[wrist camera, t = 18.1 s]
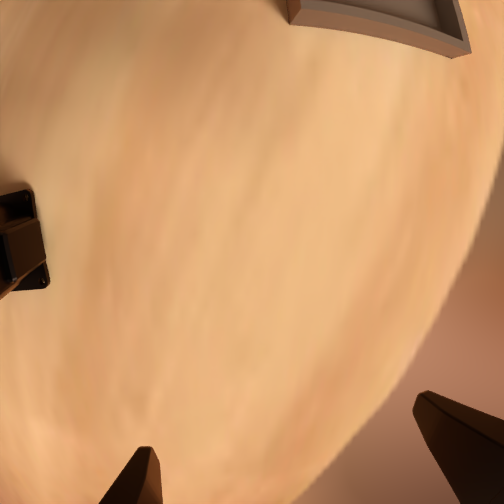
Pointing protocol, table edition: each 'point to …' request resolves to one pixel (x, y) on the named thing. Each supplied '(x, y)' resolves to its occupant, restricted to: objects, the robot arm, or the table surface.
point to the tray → (390, 21)
